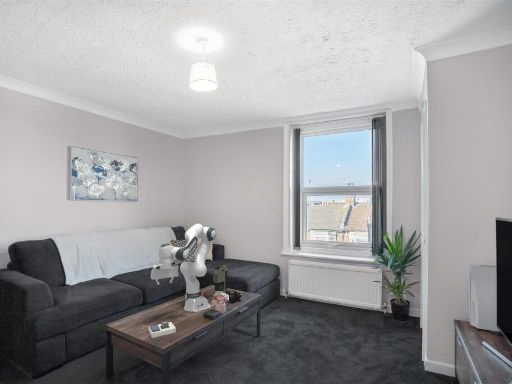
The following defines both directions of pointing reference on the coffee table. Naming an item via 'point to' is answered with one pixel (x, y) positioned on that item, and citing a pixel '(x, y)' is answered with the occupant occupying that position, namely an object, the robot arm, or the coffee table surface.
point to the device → (220, 278)
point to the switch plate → (161, 330)
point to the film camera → (233, 296)
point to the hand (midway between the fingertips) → (164, 283)
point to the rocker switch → (164, 325)
